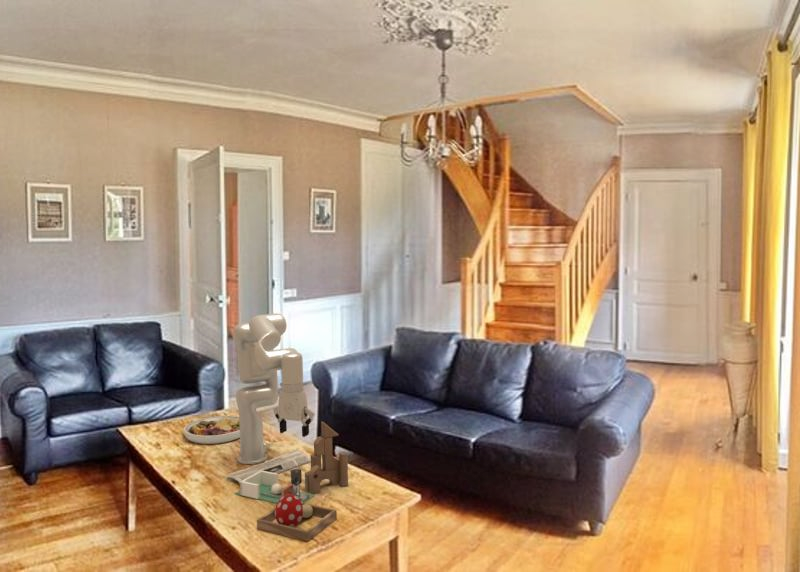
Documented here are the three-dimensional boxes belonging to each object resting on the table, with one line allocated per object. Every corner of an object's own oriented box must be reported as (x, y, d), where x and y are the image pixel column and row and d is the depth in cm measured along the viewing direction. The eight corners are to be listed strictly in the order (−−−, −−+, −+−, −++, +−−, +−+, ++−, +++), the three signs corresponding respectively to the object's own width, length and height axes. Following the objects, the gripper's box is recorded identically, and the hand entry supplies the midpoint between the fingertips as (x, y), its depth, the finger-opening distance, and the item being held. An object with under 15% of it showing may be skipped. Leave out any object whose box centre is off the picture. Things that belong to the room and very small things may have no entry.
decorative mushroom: (312, 486, 218) (282, 486, 206) (328, 512, 212) (298, 513, 200) (293, 509, 220) (262, 510, 208) (309, 535, 213) (278, 537, 201)
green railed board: (254, 482, 243) (254, 481, 243) (314, 495, 231) (314, 494, 231) (235, 494, 233) (234, 492, 233) (297, 508, 221) (297, 507, 221)
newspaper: (241, 488, 239) (241, 479, 239) (223, 479, 248) (223, 471, 248) (314, 462, 265) (313, 454, 265) (295, 455, 273) (295, 447, 273)
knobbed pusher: (290, 492, 232) (289, 466, 231) (309, 496, 229) (308, 469, 228) (281, 498, 227) (280, 471, 226) (300, 502, 224) (299, 475, 223)
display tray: (288, 507, 221) (288, 499, 221) (336, 518, 213) (336, 510, 212) (257, 528, 206) (256, 520, 206) (307, 541, 197) (307, 532, 197)
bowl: (185, 429, 310) (184, 413, 309) (247, 422, 319) (246, 407, 318) (183, 449, 282) (182, 432, 281) (252, 442, 290) (251, 425, 290)
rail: (270, 488, 237) (270, 486, 236) (310, 497, 229) (310, 495, 228) (260, 495, 231) (260, 493, 231) (301, 504, 223) (301, 501, 223)
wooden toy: (311, 495, 232) (309, 429, 229) (304, 488, 237) (302, 424, 235) (349, 485, 239) (348, 421, 237) (342, 479, 245) (340, 417, 243)
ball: (275, 491, 234) (275, 480, 234) (284, 493, 233) (284, 482, 232) (269, 495, 231) (268, 485, 230) (277, 497, 229) (277, 486, 229)
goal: (261, 482, 242) (260, 470, 242) (278, 486, 239) (277, 473, 238) (240, 494, 232) (239, 481, 231) (257, 498, 228) (257, 485, 228)
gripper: (266, 387, 224) (268, 434, 226) (306, 392, 217) (308, 440, 218) (279, 382, 231) (281, 427, 233) (319, 387, 223) (320, 434, 225)
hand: (294, 433), depth 225 cm, fingers open, 9 cm apart
